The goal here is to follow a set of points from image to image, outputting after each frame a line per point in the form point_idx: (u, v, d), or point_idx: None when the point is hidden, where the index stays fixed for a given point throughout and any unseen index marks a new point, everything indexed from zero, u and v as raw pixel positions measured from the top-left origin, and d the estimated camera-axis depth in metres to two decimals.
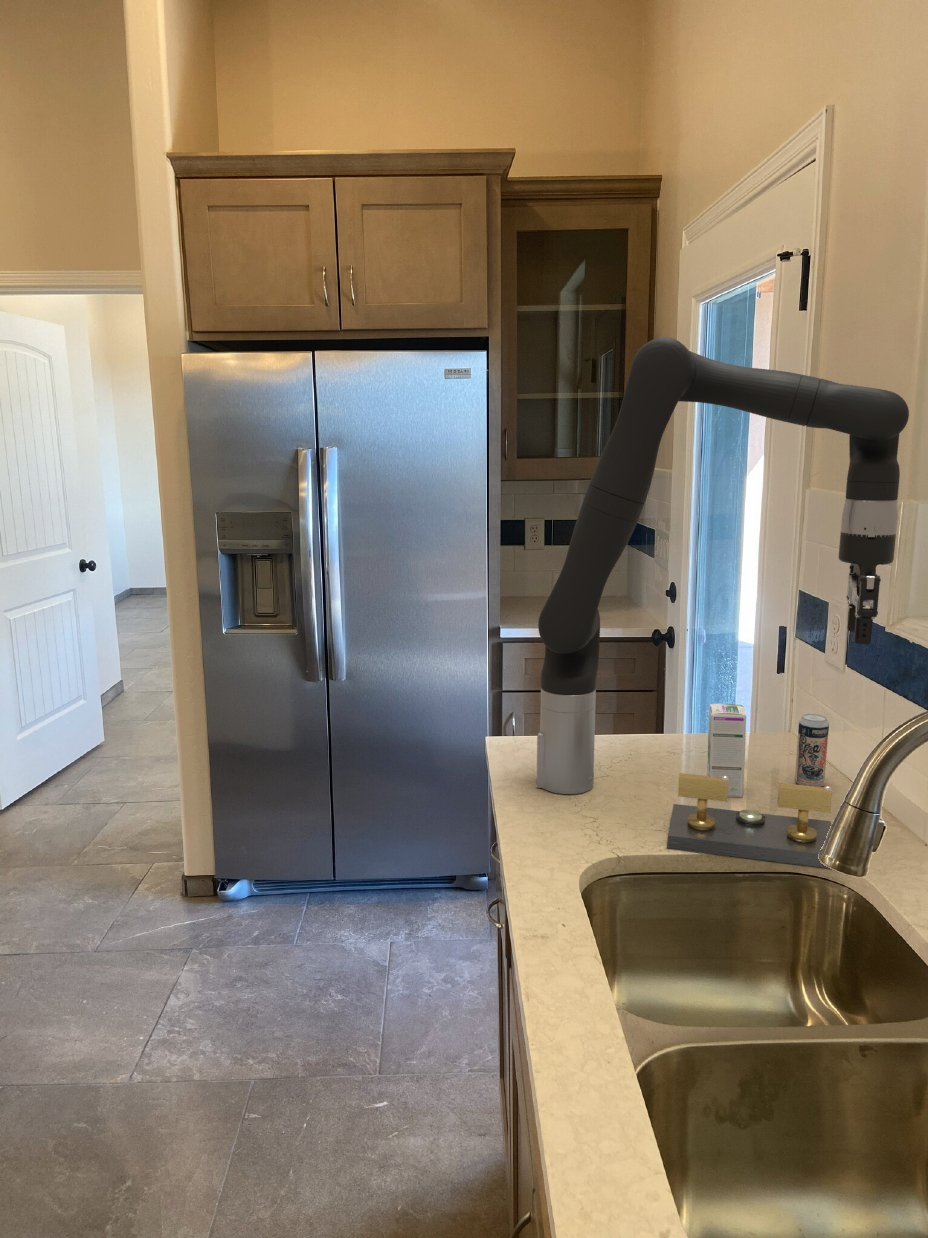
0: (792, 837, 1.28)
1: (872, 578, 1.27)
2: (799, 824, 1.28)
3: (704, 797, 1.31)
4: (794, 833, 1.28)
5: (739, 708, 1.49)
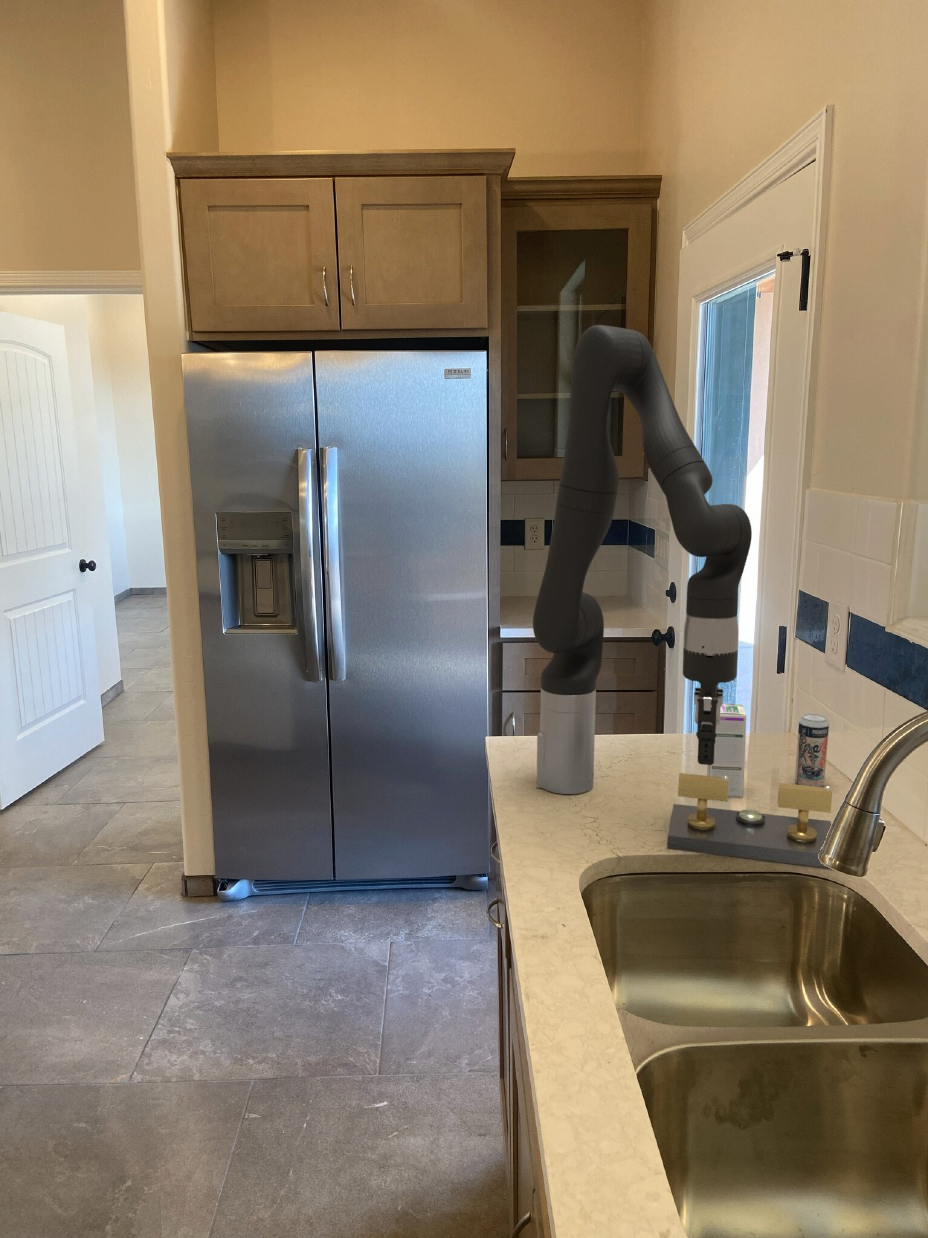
0: (792, 837, 1.28)
1: (709, 700, 1.22)
2: (799, 824, 1.28)
3: (704, 797, 1.31)
4: (794, 833, 1.28)
5: (739, 708, 1.49)
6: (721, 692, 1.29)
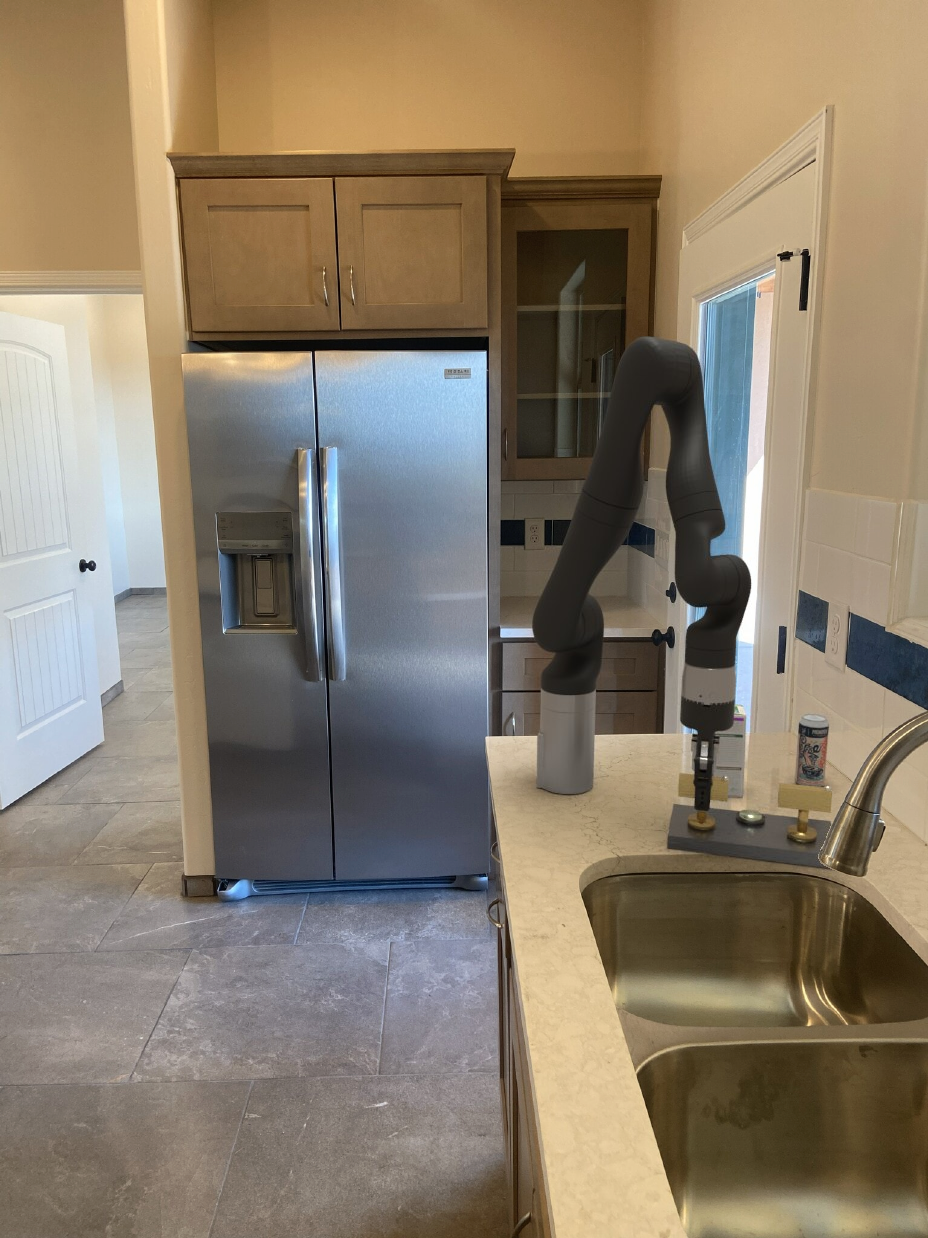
0: (792, 837, 1.28)
1: (705, 763, 1.24)
2: (799, 824, 1.28)
3: None
4: (794, 833, 1.28)
5: (739, 708, 1.49)
6: (718, 737, 1.31)
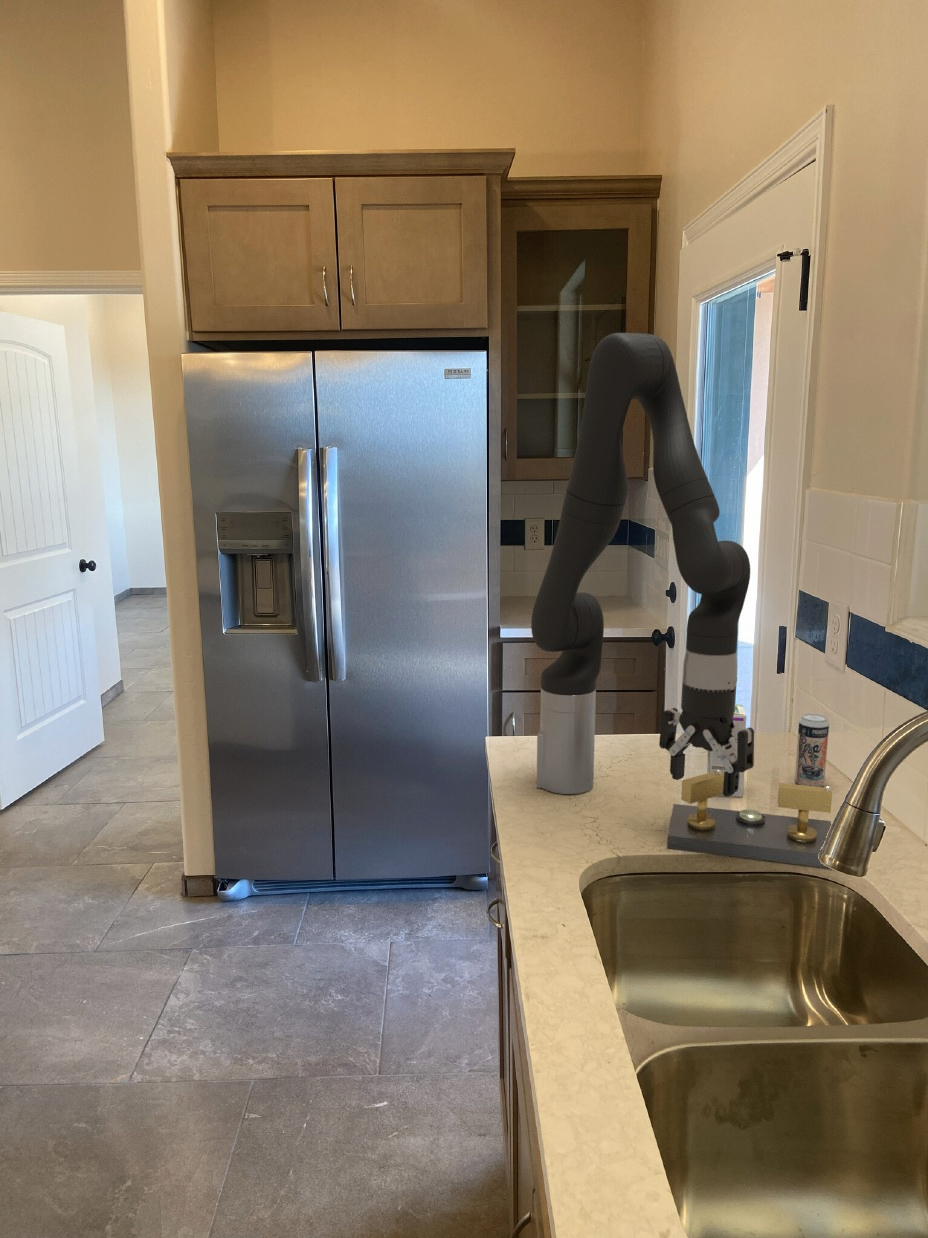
0: (792, 837, 1.28)
1: (750, 732, 1.25)
2: (799, 824, 1.28)
3: (708, 796, 1.31)
4: (794, 833, 1.28)
5: (739, 708, 1.49)
6: None
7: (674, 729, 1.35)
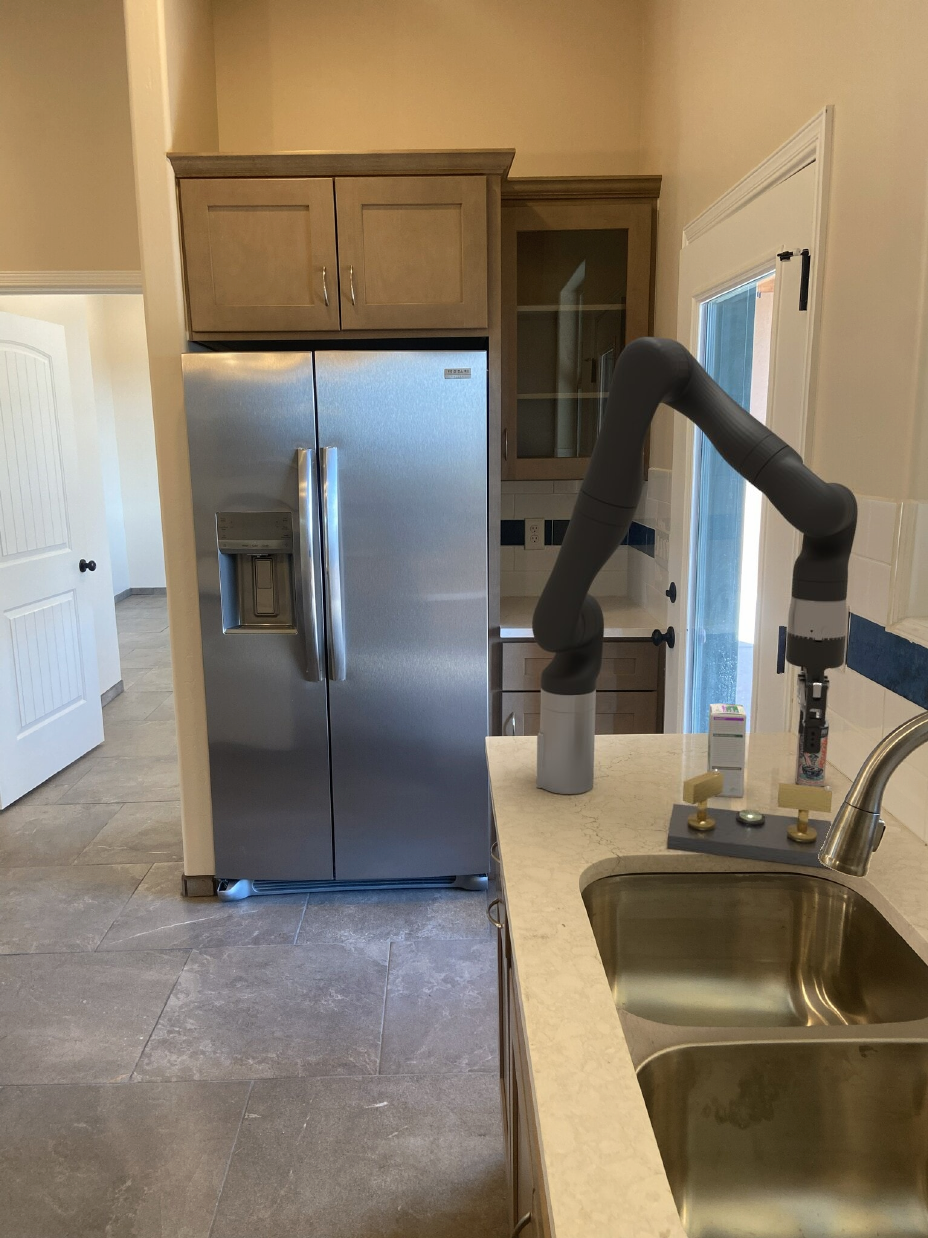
0: (792, 837, 1.28)
1: (819, 686, 1.18)
2: (799, 824, 1.28)
3: (709, 796, 1.31)
4: (794, 833, 1.28)
5: (739, 708, 1.49)
6: (826, 678, 1.24)
7: None
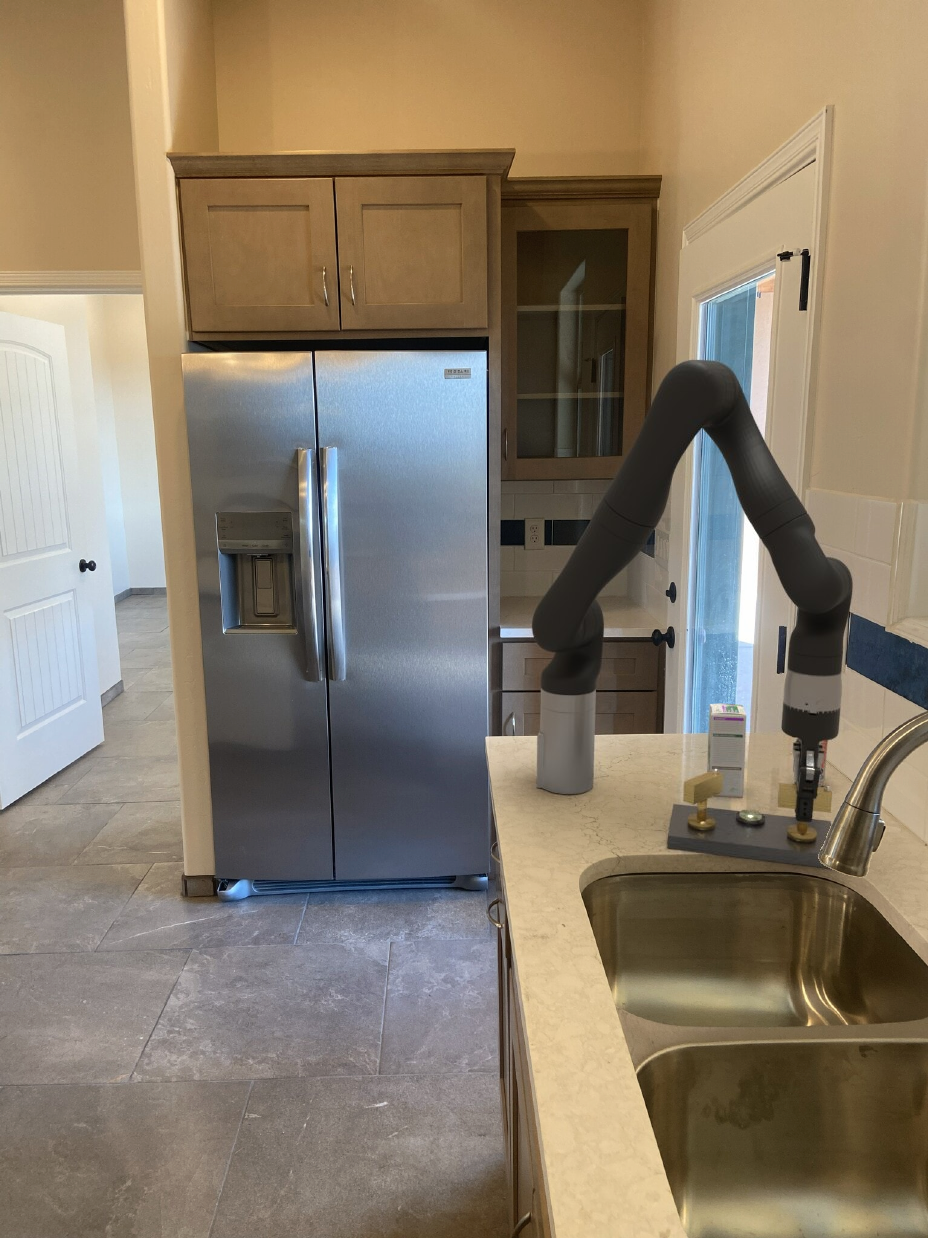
0: (792, 837, 1.28)
1: (812, 773, 1.20)
2: (799, 824, 1.28)
3: (709, 796, 1.31)
4: (794, 833, 1.28)
5: (739, 708, 1.49)
6: (821, 746, 1.27)
7: None
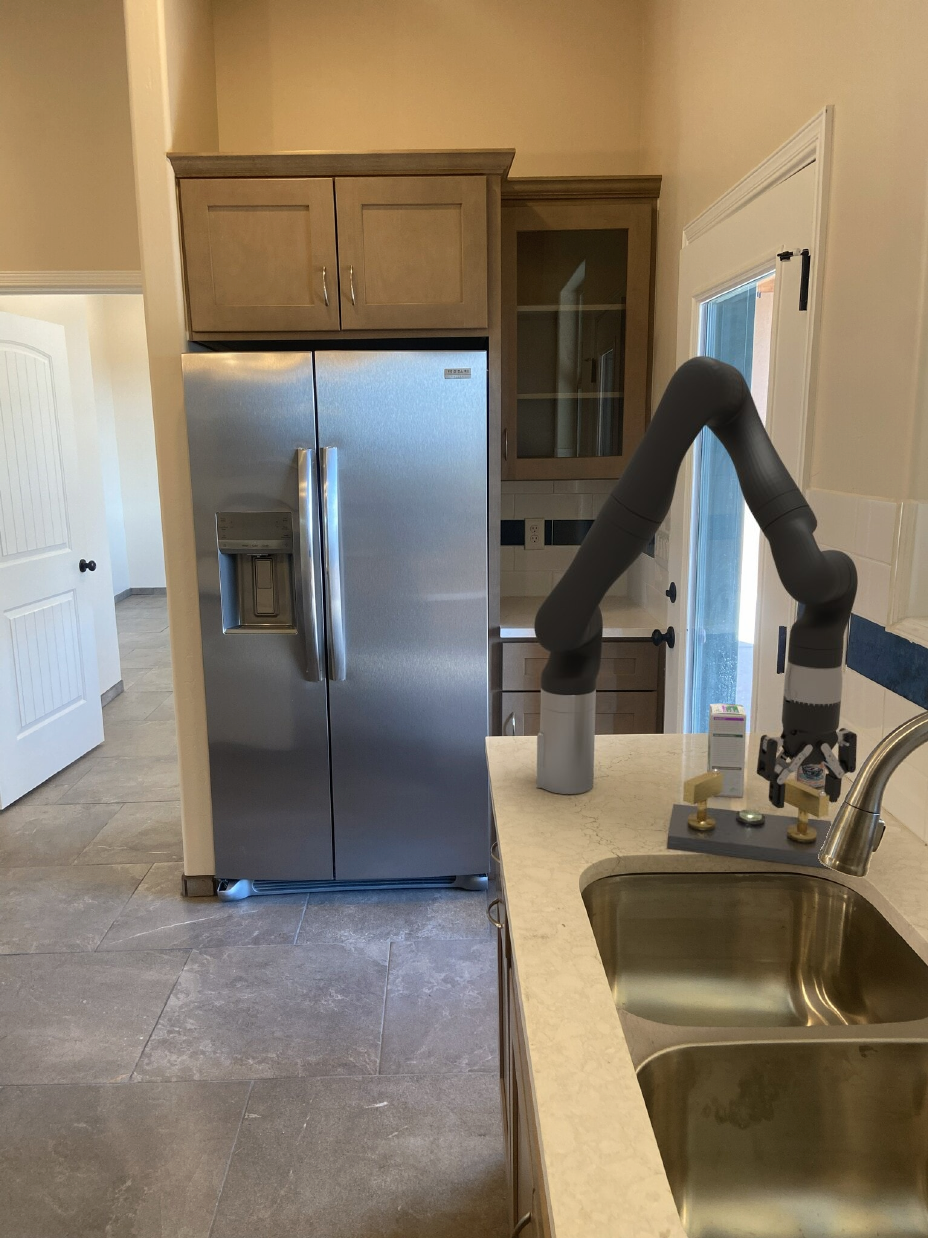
0: (787, 832, 1.29)
1: (766, 740, 1.24)
2: (797, 822, 1.29)
3: (709, 796, 1.31)
4: (788, 829, 1.29)
5: (739, 708, 1.49)
6: (820, 745, 1.25)
7: (846, 753, 1.27)
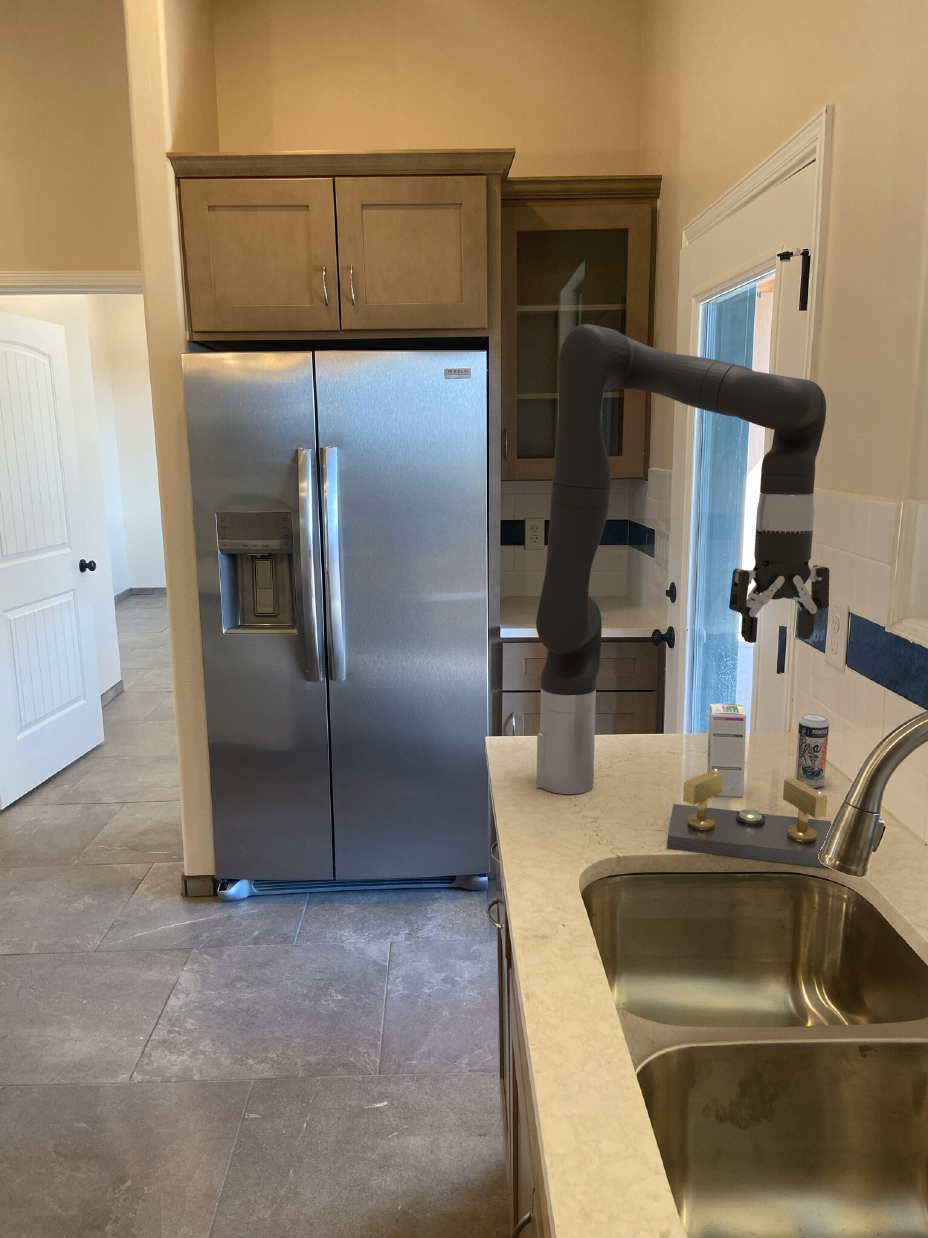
0: None
1: (738, 572, 1.24)
2: (797, 822, 1.29)
3: (709, 796, 1.31)
4: (788, 828, 1.29)
5: (739, 708, 1.49)
6: (792, 577, 1.24)
7: (819, 589, 1.27)
